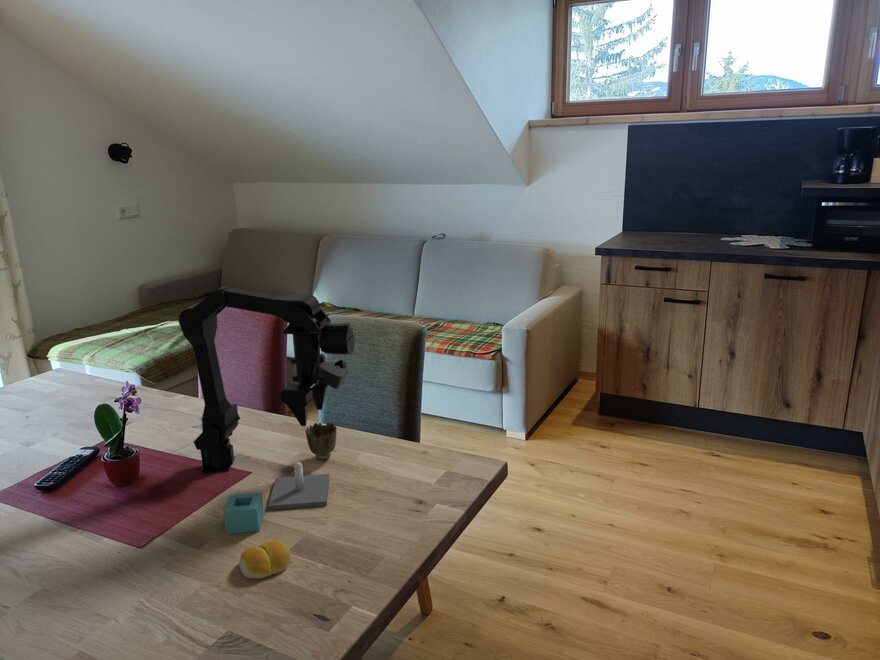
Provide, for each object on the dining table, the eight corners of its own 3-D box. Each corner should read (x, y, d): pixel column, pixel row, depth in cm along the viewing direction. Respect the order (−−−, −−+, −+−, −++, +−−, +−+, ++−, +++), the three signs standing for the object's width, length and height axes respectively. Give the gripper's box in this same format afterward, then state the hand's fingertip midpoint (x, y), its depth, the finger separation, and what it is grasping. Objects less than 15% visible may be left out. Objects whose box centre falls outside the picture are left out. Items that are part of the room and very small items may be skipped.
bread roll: (297, 567, 118) (296, 548, 117) (249, 586, 114) (246, 566, 113) (281, 545, 125) (279, 527, 124) (235, 562, 120) (232, 543, 119)
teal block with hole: (226, 533, 129) (223, 511, 127) (232, 516, 135) (229, 494, 134) (259, 531, 129) (256, 508, 128) (264, 513, 136) (261, 492, 134)
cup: (342, 451, 162) (339, 422, 160) (334, 465, 155) (332, 435, 153) (312, 451, 163) (310, 421, 161) (304, 465, 156) (301, 434, 154)
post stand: (268, 510, 137) (265, 478, 135) (276, 481, 148) (273, 452, 146) (326, 505, 138) (324, 473, 136) (329, 477, 150) (327, 448, 148)
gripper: (325, 368, 134) (329, 438, 138) (356, 342, 151) (359, 404, 156) (275, 365, 136) (281, 433, 141) (311, 339, 154) (315, 401, 158)
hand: (312, 417), depth 149 cm, fingers open, 9 cm apart
